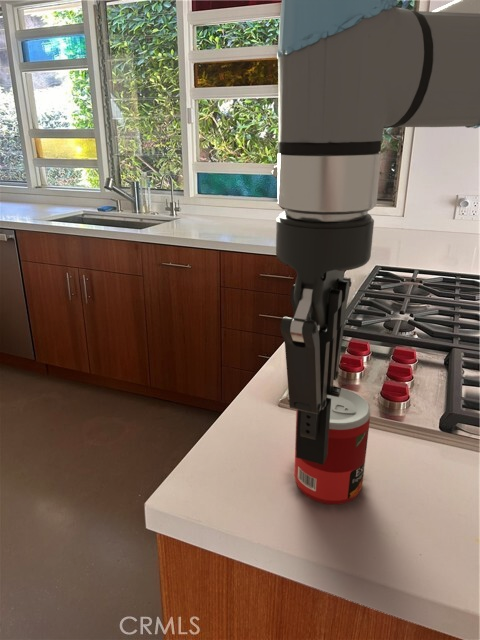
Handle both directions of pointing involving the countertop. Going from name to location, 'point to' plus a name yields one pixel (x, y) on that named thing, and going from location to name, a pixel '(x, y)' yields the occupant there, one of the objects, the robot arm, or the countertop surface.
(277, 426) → the countertop surface
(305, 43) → the robot arm
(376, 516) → the countertop surface
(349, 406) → the canned food
